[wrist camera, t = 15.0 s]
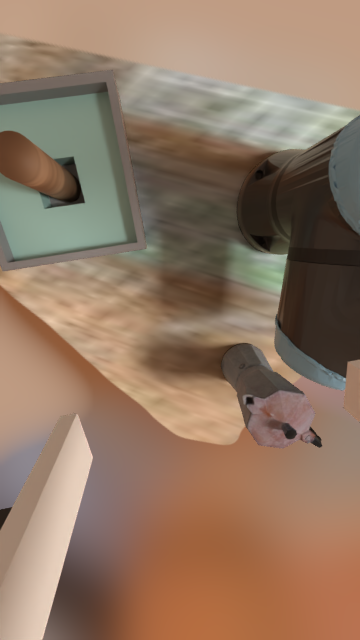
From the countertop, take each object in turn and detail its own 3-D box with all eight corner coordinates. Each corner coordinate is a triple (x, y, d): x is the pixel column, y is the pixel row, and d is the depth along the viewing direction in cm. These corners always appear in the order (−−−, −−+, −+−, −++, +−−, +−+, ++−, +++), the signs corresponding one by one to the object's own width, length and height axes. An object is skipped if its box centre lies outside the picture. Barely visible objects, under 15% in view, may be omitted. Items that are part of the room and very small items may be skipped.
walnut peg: (76, 170, 35) (28, 127, 22) (84, 200, 36) (43, 177, 23) (48, 174, 35) (-18, 133, 21) (57, 204, 36) (0, 184, 23)
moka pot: (226, 326, 46) (276, 386, 27) (286, 360, 50) (367, 433, 31) (199, 365, 48) (229, 447, 29) (259, 395, 52) (319, 484, 33)
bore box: (119, 98, 34) (112, 69, 28) (147, 247, 40) (146, 248, 34) (-29, 117, 33) (-67, 91, 27) (24, 266, 39) (2, 271, 33)
